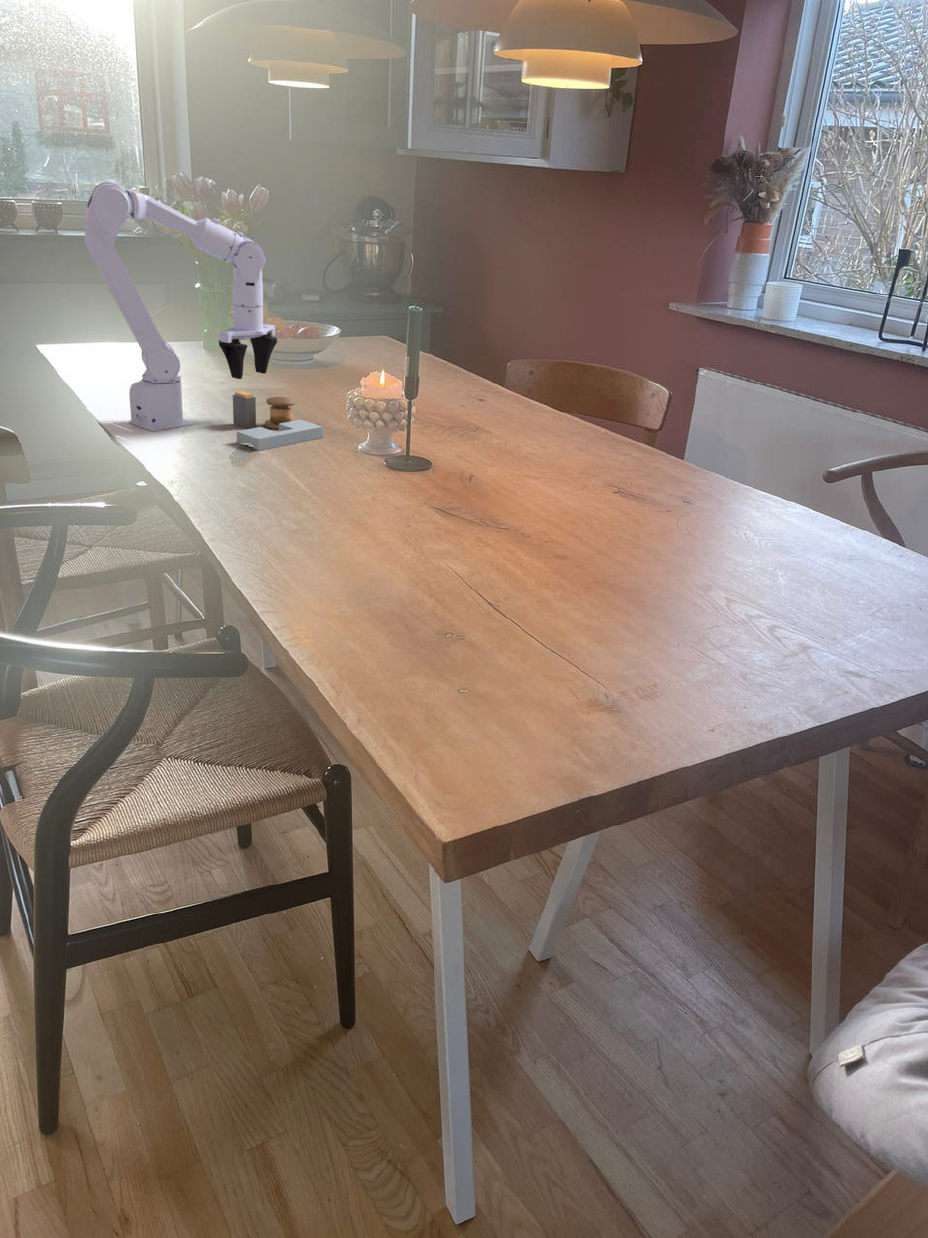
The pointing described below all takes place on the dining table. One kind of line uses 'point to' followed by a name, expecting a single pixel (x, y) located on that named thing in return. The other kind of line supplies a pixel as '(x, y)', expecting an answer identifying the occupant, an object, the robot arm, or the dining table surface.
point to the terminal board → (280, 435)
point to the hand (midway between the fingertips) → (249, 375)
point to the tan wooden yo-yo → (279, 411)
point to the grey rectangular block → (244, 410)
